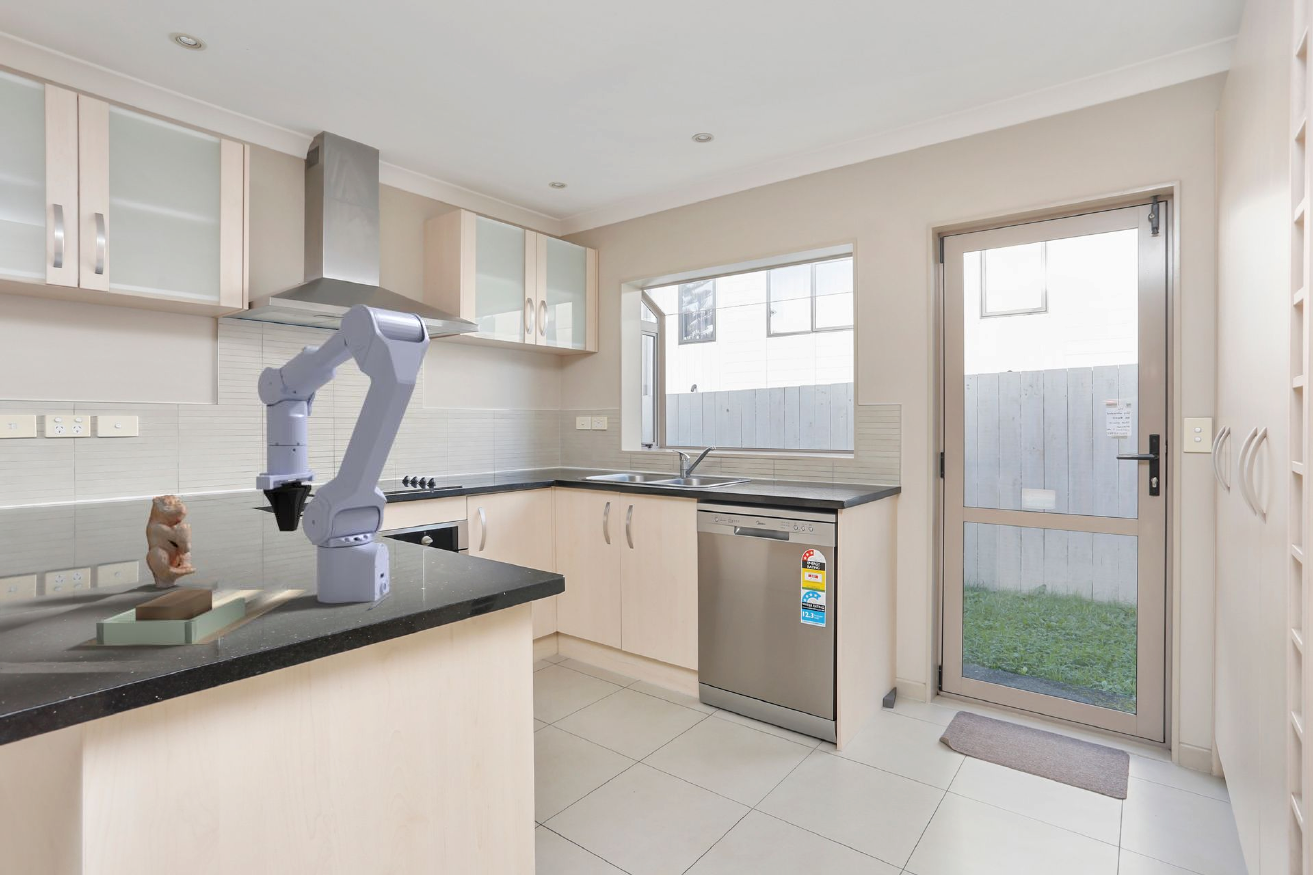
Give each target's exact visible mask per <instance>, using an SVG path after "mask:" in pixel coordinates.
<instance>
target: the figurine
mask: <svg viewBox="0 0 1313 875" xmlns="http://www.w3.org/2000/svg"><path fill="white" fill-rule="evenodd" d="M187 514H188V511H187V507H186V506H185V505H184V504H183V503H182V502H181V500H180V498H179V497H178V496H177V495H175V494H170V495H168V494H165V495H162V496H156V497H153V498H152V506H151V509H150V516H149V518H148V522H147V525H146V528H145V536H146V540H147V544H148V552H147V553H146V557H145V559H146V563H147V567H148V568H149V570H150V571H151V573H152V577H153V579H154V582H155V588H158V589H159V588H165V589H166V588H170V587H173V586H175V585H176V580H177V579H181V578H182V577H184V576H187V575H191V574H194V573H196V571H197V568H195V567H192V565H191V559H192V556H191V555H192V554H191V553H190V552H191V549H192V545H191V543H192V526H191V524H189V523H187V522H183V520H184V519H185V518H186V516H187Z"/></svg>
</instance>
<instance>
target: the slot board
mask: <svg viewBox="0 0 1313 875" xmlns="http://www.w3.org/2000/svg"><path fill="white" fill-rule="evenodd" d="M264 590H265V589H242V590H241V591H238V592H236V593H234V594H232V595H229V596H227V597H225V598H222V599H220V600H218V601H216V602H213V603H212V610H213V609H215V608H217V607H219V606H221V605H224V604H226V603H228V602H230V601H232V600H235V599H237V598H243V597H245V599H246V598H249V597H251V596H253V595H255V594H257V593H259V592H262V591H264ZM308 591H309V589H290V590H289V591H287V592H285V593H283V594H281V595H279V596H277V597H274V598H272V599H270V600H268V601H266V602H264V603H262V604H260V605H258V606H256V607H254V608H252V609H250V610H248V611H246V612H245V617H243V618H241V619H239V620H237V621H235V622H233V623H231V624H229V625H227V626H225V627H223V628H221V629H219V630H217V631H216V632H214V633H212V634H210V635H208V636H206V637H204V638H202V639H200V640H198V641H196V642H194V643H192V644H109V645H97V638H95V639H92V640H89V641H86V642H85V643H83V644H80V645H79V646H80V647H82V646H83V647H87V646H89V647H91V646H94V647H95V646H97V647H98V646H99V647H100V646H102V647H103V646H104V647H105V646H166V645H167V646H175V645H177V646H178V645H179V646H180V645H182V646H183V645H184V646H185V645H186V646H187V645H191V646H192V645H209V644H210V643H212V642H213V641H215V640H217V639H219V638H221V637H222V636H225V635H226V634H229V633H231V632H232V631H234V630H236V629H238V628H240V627H241V626H243V625H245V624H247V623H250V622H252V621H253V620H254V619H257V618H259V617H260V616H262V615H264V614H267V613H269V612H270V611H272V610H274V609H275V608H277V607H279V606H281V605H283V604H285V603H287V602H289V601H290V600H293V599H295V598H297V597H298V596H300V595H302V594H304V593H305V592H306V593H307V592H308Z"/></svg>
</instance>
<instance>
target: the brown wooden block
mask: <svg viewBox="0 0 1313 875" xmlns="http://www.w3.org/2000/svg"><path fill="white" fill-rule="evenodd" d="M212 591H213V588H212V589H211V588H206V589H205V588H204V589H202V588H201V589H199V588H196V589H193V588H191V589H187V588H186V589H185V588H184V589H183V588H182V589H178V590H175V591H172V592H170V593H168V594H164V595H162V596H159V597H158V598H177V597H193V618H195V617H197V616H199V615H201V614H204V613H206V612H208V611H210V610H212Z"/></svg>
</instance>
